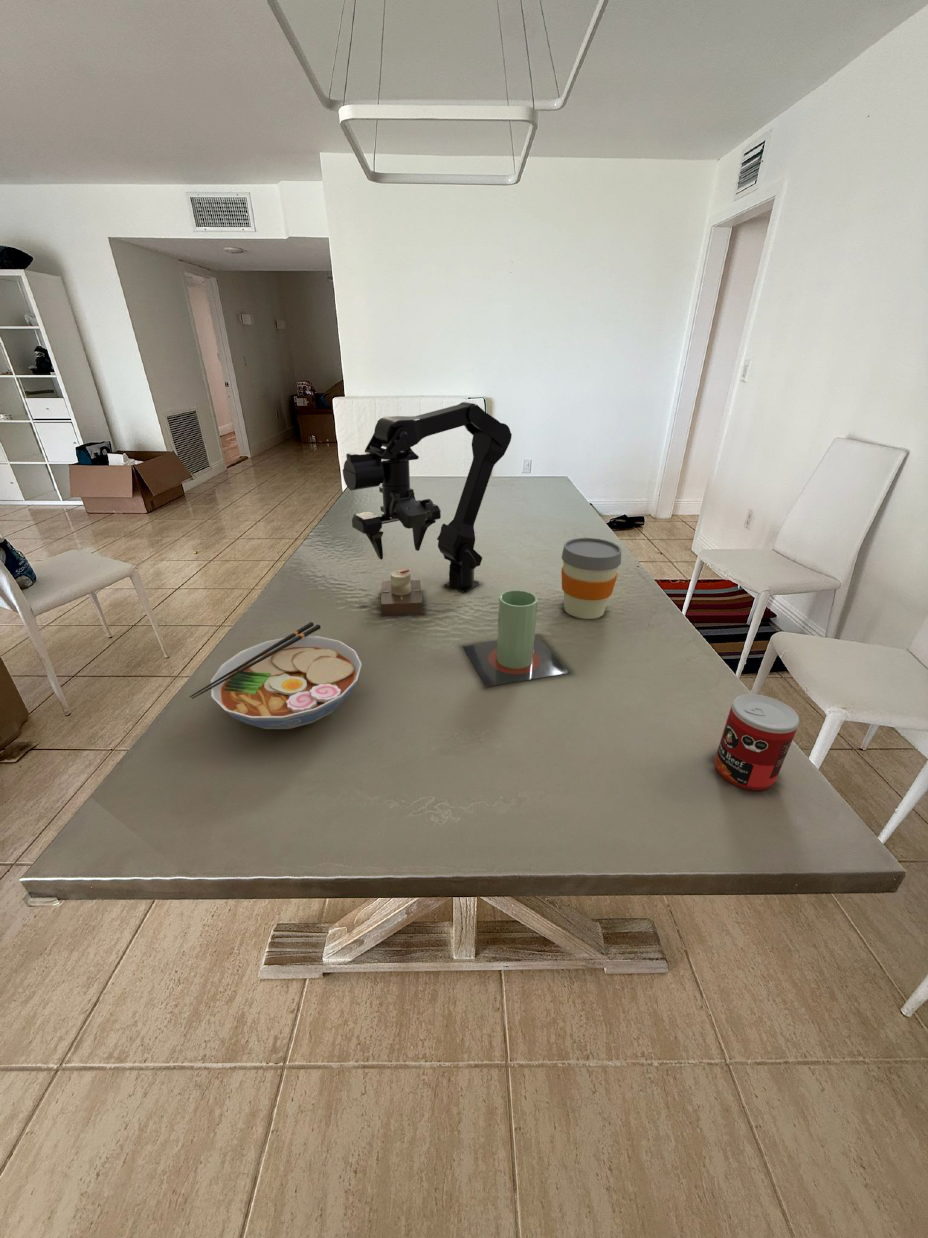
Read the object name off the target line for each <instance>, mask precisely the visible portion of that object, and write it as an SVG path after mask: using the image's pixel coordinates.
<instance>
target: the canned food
mask: <svg viewBox="0 0 928 1238" xmlns="http://www.w3.org/2000/svg"><path fill="white" fill-rule="evenodd" d="M799 723H800V717H799V715H798V713H797V712H796V710H794V709H793V708H792V707H791V706H789V705H788V704H786V703H784V702H783V701H780V700H779V699H776V698H774V697H770V696H768V695H767V696H766V695H764V694H763V695H762V694H757V693H756V694H754V693H746V694H741V695H738V696H737V697H735V698H734V700H733V702H732V704H731V706H730V709H729V712H728V716H727V718H726V722H725V726H724V728H723V731H722V734H721V738H720V741H719V745H718V748H717V751H716V753H715V756H714V757H715V758H714V763H715V767H716V768H715V769H716V771H717V772H718V773H719V775H720V776H721V778H723V779H724V780H726V781H727V782H729V783H730V784H732V785H734V786H735V787H738V788H741V789H744V790H750V791H764V790H767V789H769V788H771V786H773V785H774V783H775V782H776V781H777V778H778V777H779V773H780V771H781V769H782V767H783V765H784V762H785V760H786V757H787V754H788V752H789V750H790V747H791V745H792V742H793V740H794V738H795V735H796V733H797V730H798V727H799Z"/></svg>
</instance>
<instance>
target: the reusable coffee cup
mask: <svg viewBox="0 0 928 1238" xmlns="http://www.w3.org/2000/svg"><path fill="white" fill-rule="evenodd" d="M561 560H562V567H561V571H560V572H561V573H560V574H561V590H562V591H563V609H564V611H565V612H566V613H567V614H568V615H570V616H572V617H575V618H578V619H584V620H591V619H592V620H593V619H598V618H600V617H602V616H603V615H604V614H605V611H606V608H607V604H608V601H609V598H610V597H611V596H612V594H613V592H614V588H615V585H616V582H617V579H618V569H619V566H621V564H622V548H621V546H620V545H618V544H617V543H614V542H613V541H610V540H607V539H602V538H596V537H577V538H571V539H569V540H567V541H566V542H565V543H564V544H563V549H562V554H561Z"/></svg>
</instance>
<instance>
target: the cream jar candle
mask: <svg viewBox="0 0 928 1238" xmlns="http://www.w3.org/2000/svg"><path fill="white" fill-rule="evenodd" d="M411 579H412V578H411V571H410V570H409V569H395V570H392V571H391V572H390V581H391V589H392V593H393V594H395V595H407V594H409V593H410V592H411V581H412V580H411Z"/></svg>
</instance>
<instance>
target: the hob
mask: <svg viewBox="0 0 928 1238" xmlns="http://www.w3.org/2000/svg"><path fill="white" fill-rule="evenodd" d="M463 649H464V651H465V653H466V654H467V656H468V657H469V659H470V661H471V662H472V664H473V666H474V668H475V670H476V671H477V673H478V675H479V677H480V679H481V680H482V682H483V684H484V685H485V687H486V688H491V687H497V686H503V685H508V684H514V683H519V682H520V683H521V682H526V681H530V680H538V679H543V678H549V677H556V676H560V675H567V674H570V672H569V671H568V670H567V669H566V668H565V666H564V665H563V664H562V663H561V662H560V660H559V659H558V658H557V656H555V654H554V653H553V652H552V651H551V650H550V649H549V647H548V646H547V645H546V643H544V641H543V640H542V639H541V638H540V636H539V635H535V636H534V647H533V658H532V662H531V664H530V665H529V666H527V667H525V668H520V669H512V668H507V667H504V666H502V665H501V664H499V663H498V661H497V659H496V650H497V641H492V642H485V643H479V644H472V645H466V646H465V645H464V646H463Z"/></svg>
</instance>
